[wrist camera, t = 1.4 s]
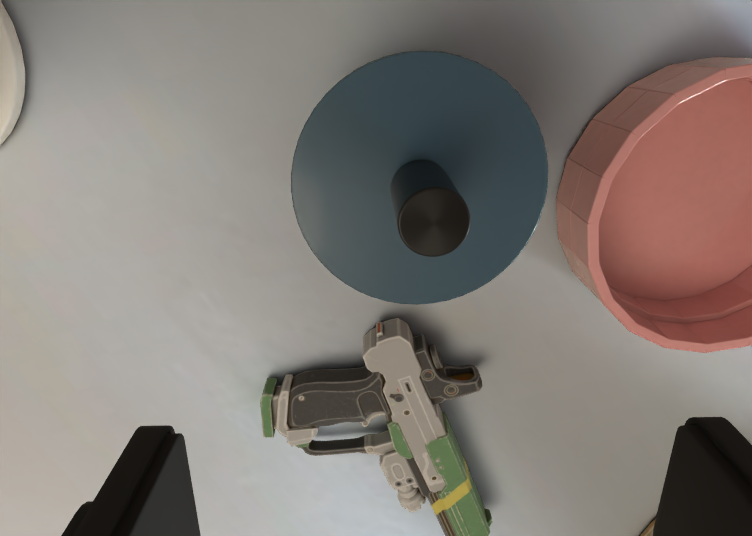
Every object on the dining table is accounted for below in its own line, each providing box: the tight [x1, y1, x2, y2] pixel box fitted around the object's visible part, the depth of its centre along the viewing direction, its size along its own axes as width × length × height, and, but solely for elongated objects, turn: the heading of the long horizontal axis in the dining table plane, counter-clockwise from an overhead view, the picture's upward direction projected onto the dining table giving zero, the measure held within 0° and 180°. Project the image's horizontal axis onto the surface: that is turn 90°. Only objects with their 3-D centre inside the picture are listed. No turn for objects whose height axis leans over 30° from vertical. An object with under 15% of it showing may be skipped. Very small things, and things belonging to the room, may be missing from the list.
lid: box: [291, 51, 548, 304], centre depth 22 cm, size 11×11×6 cm
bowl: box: [556, 57, 752, 353], centre depth 31 cm, size 16×16×6 cm
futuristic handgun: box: [260, 318, 492, 536], centre depth 39 cm, size 3×19×15 cm
